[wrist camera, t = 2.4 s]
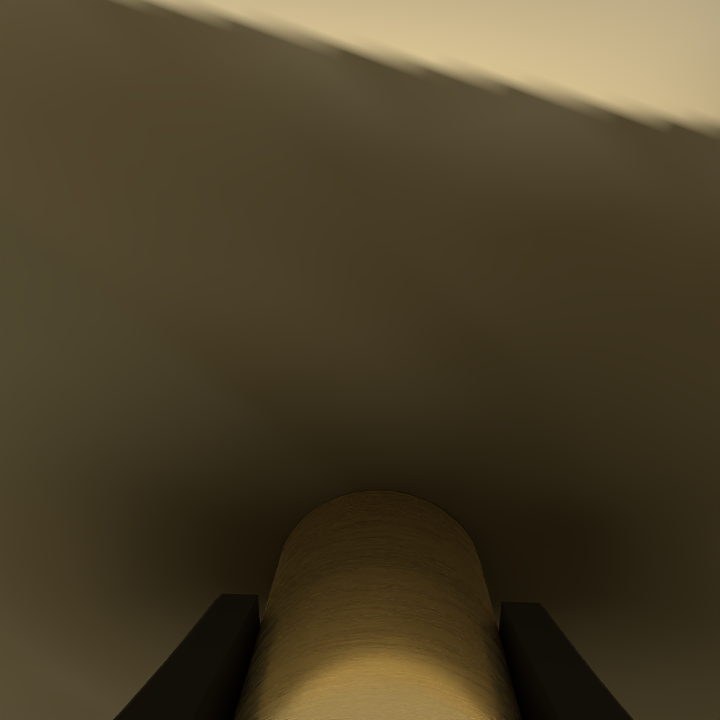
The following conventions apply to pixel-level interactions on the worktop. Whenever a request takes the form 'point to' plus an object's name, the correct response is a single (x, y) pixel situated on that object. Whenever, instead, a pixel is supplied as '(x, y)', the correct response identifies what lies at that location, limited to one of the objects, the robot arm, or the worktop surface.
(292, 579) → the cylinder
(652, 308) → the worktop surface
